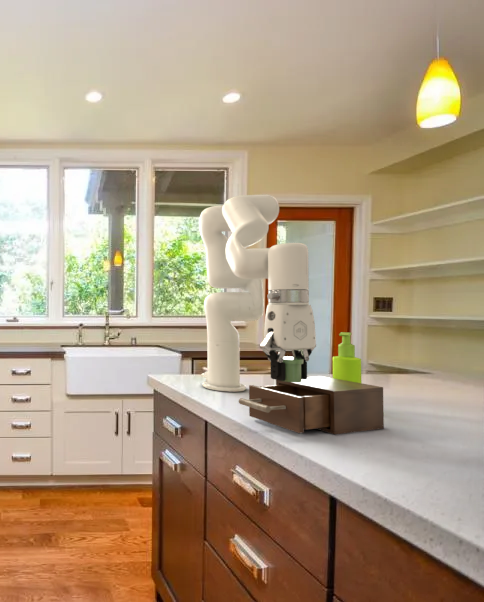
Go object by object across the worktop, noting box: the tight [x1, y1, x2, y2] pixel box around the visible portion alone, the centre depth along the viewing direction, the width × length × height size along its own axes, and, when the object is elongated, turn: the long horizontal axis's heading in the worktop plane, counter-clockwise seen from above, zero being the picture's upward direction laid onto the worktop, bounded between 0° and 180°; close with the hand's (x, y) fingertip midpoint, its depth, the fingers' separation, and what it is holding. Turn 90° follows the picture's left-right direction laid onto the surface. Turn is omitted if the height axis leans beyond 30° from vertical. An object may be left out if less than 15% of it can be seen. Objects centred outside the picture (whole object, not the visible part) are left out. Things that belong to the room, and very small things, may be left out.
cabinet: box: [275, 375, 385, 436], centre depth 86 cm, size 15×14×9 cm
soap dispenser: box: [331, 331, 362, 383], centre depth 98 cm, size 6×7×20 cm
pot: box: [283, 356, 304, 382], centre depth 83 cm, size 5×5×5 cm
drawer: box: [238, 384, 331, 434], centre depth 82 cm, size 19×12×7 cm, turn 105°
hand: (288, 378), depth 83 cm, fingers closed on pot, 5 cm apart
